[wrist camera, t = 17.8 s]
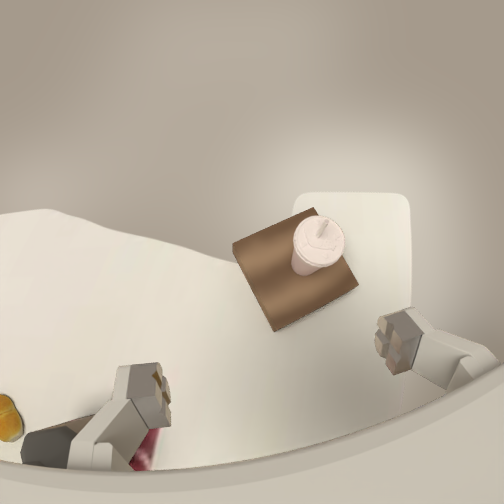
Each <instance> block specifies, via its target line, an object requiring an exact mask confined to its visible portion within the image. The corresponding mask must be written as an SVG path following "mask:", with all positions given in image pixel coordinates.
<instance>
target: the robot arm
mask: <svg viewBox="0 0 504 504" xmlns="http://www.w3.org/2000/svg"><path fill="white" fill-rule="evenodd" d="M377 326H378V327H379V330H378V331H377V332H376V334H375V340H374V341H375V347H376V350H377V352H378V353H379V355H380V356H381V357H383V358H385V359H386V365H387V367H388V368H389V370H390V371H391V373H392V374H393V375H396V374H399V373H402V372H405V371H408V370H410V369H412V371H414V372H416V373H417V374H419V375H421V376H422V377H424V378H426V379H428V380H429V381H431V382H433V383H435V384H437V385H438V386H440V387H442V388H443V389H445V390H446V393H445V394H444V396H442V397H441V398H438V399H436V400H434V401H432V402H429V403H427V404H425V405H423V406H421V407H418V408H416V409H414V410H412V411H409V412H407V413H404V414H402V415H400V416H397V417H395V418H392V419H390V420H387V421H385V422H382V423H379V424H377V425H374V426H371V427H368V428H366V429H363V430H360V431H357V432H354V433H351V434H348V435H345V436H342V437H339V438H335V439H332V440H329V441H325V442H322V443H318V444H315V445H311V446H307V447H303V448H300V449H296V450H292V451H287V452H283V453H279V454H274V455H269V456H265V457H260V458H254V459H249V460H243V461H238V462H231V463H225V464H218V465H211V466H202V467H193V468H183V469H171V470H155V471H134V470H133V469H132V468H131V467H130V465H129V464H128V463H129V462H130V460H131V459H132V457H133V455H134V454H135V452H136V450H137V449H138V447H139V446H140V444H141V442H142V441H143V439H144V438H145V436H146V434H147V433H148V431H149V429H153V428H162V427H170V426H171V411H170V409H169V407H168V405H169V404H170V402H171V395H170V389H169V385H168V382H167V379H166V377H164V376H162V367H161V365H160V363H158V362H156V363H145V364H135V365H126V366H119V367H118V369H117V373H116V378H115V384H114V391H113V397H112V400H108V401H107V403H106V404H105V405H104V406H103V407H102V408H101V409H100V410H99V411H98V412H97V414H96V415H95V416H94V417H93V418H92V419H91V420H90V421H89V422H88V423H87V425H86V426H85V427H84V428H83V429H82V430H81V431H80V432H79V433H78V435H77V436H76V437H75V438H74V439H73V440H72V441H71V446H70V452H69V458H68V464H67V469H58V468H49V467H40V466H33V465H26V464H20V463H14V462H8V461H3V460H0V504H504V363H502V364H501V363H500V362H499V361H498V360H497V358H496V357H495V356H494V355H493V354H492V353H491V352H490V351H489V350H488V349H487V348H486V347H485V346H483V345H480V344H477V343H475V342H472V341H470V340H467V339H464V338H462V337H459V336H456V335H453V334H451V333H448V332H445V331H442V330H440V329H437V330H435V329H434V328H433V327H432V326H431V325H430V323H429V322H428V321H427V320H426V319H425V318H424V317H423V316H422V315H421V314H420V313H419V312H418V311H417V309H415V308H414V307H409V308H406V309H403V310H400V311H397V312H393V313H390V314H387V315H383V316H380V317H379V319H378V321H377Z"/></svg>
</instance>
